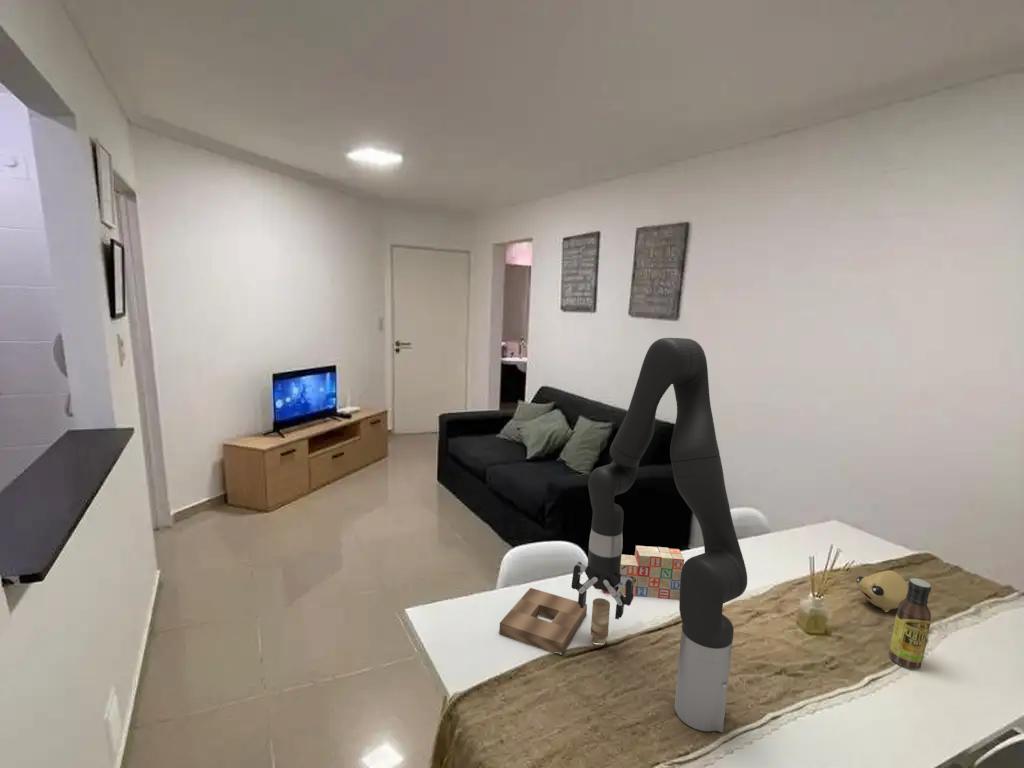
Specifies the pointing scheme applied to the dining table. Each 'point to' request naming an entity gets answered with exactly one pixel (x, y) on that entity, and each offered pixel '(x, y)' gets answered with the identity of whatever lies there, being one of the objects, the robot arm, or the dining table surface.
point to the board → (540, 632)
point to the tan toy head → (883, 589)
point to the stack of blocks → (653, 572)
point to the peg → (600, 620)
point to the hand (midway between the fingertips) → (600, 611)
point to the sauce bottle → (911, 626)
